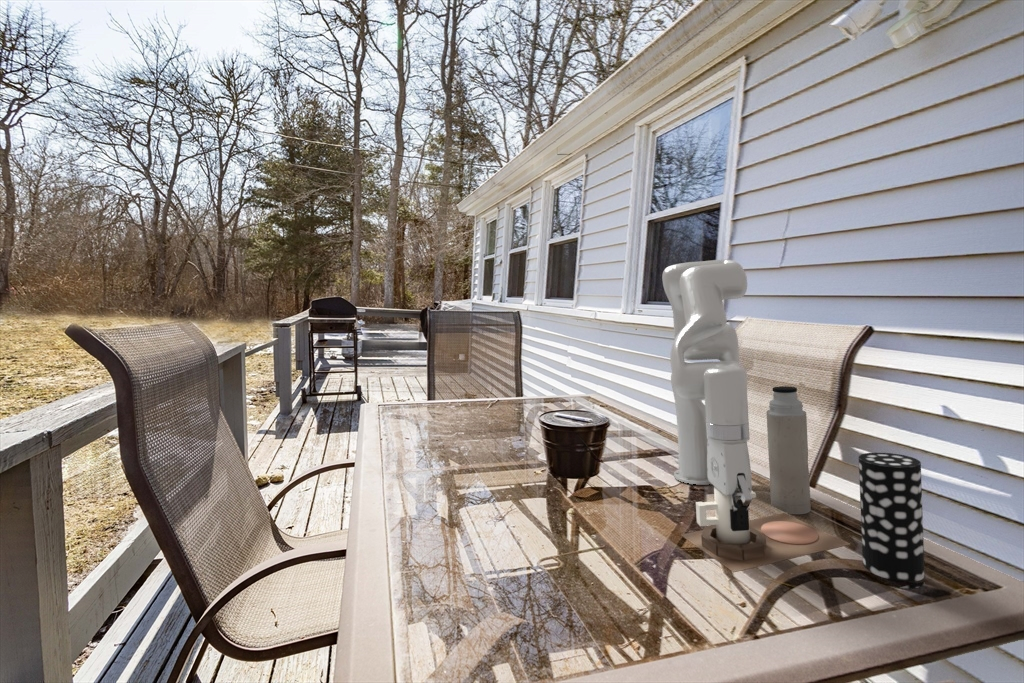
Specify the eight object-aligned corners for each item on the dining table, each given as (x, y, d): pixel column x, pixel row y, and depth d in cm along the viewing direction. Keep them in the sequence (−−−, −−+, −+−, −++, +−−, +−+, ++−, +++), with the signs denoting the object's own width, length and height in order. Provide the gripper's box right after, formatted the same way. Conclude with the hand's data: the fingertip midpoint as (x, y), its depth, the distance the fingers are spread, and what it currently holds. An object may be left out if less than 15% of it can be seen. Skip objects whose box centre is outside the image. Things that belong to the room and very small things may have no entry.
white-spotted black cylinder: (911, 565, 86) (907, 453, 85) (934, 591, 79) (930, 468, 78) (856, 560, 89) (851, 452, 88) (872, 585, 81) (868, 466, 80)
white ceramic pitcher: (748, 531, 99) (746, 482, 98) (763, 545, 93) (760, 493, 92) (694, 534, 99) (691, 486, 98) (705, 549, 93) (702, 497, 92)
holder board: (680, 540, 102) (679, 525, 102) (784, 518, 108) (783, 503, 108) (733, 578, 86) (732, 560, 86) (851, 550, 93) (850, 533, 93)
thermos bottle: (803, 500, 117) (797, 383, 115) (816, 514, 109) (810, 389, 108) (766, 500, 118) (760, 385, 117) (777, 514, 111) (771, 390, 109)
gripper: (692, 422, 103) (697, 506, 104) (726, 444, 86) (731, 544, 87) (728, 419, 103) (732, 504, 104) (769, 441, 86) (774, 541, 87)
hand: (732, 521), depth 96 cm, fingers closed on white ceramic pitcher, 6 cm apart
